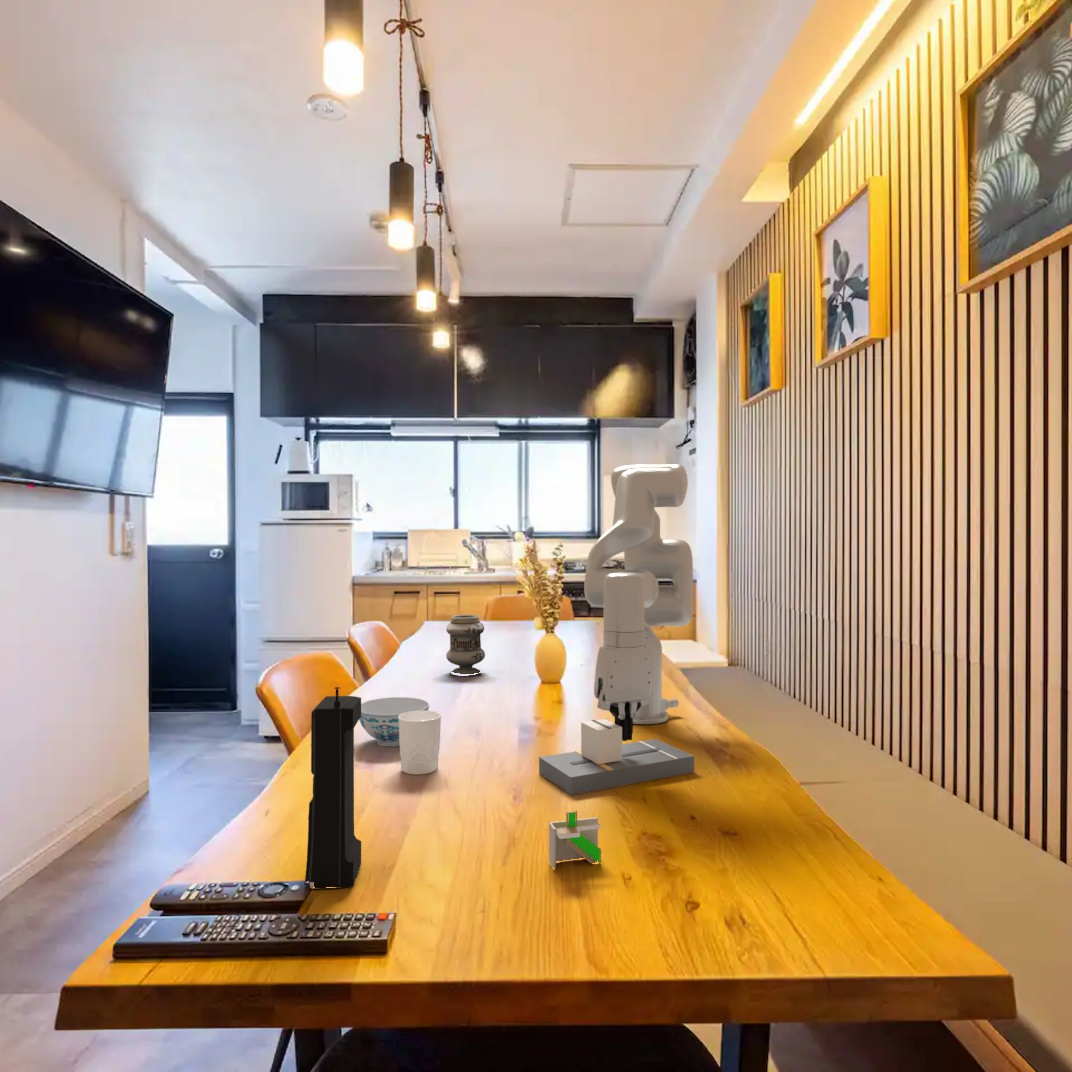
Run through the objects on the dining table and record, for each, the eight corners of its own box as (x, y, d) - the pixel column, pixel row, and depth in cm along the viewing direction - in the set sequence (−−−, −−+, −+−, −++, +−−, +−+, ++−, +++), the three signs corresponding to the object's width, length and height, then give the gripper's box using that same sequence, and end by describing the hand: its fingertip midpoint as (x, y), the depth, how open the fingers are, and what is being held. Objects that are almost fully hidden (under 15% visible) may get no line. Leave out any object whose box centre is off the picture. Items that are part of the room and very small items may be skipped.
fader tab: (604, 750, 134) (604, 718, 134) (622, 760, 129) (622, 726, 129) (581, 754, 132) (581, 721, 132) (598, 764, 127) (598, 729, 127)
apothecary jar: (451, 669, 230) (451, 613, 230) (488, 670, 228) (488, 613, 228) (441, 676, 218) (441, 617, 218) (480, 678, 216) (480, 618, 216)
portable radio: (317, 861, 97) (317, 676, 96) (362, 859, 97) (362, 675, 97) (303, 890, 89) (303, 689, 89) (353, 888, 89) (352, 688, 89)
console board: (655, 754, 143) (655, 738, 143) (694, 772, 132) (694, 755, 132) (539, 773, 132) (539, 756, 132) (570, 795, 121) (570, 776, 121)
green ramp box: (607, 874, 94) (607, 813, 94) (557, 880, 92) (557, 818, 92) (597, 860, 98) (597, 802, 98) (549, 866, 96) (549, 806, 96)
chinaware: (442, 737, 155) (442, 701, 155) (401, 756, 141) (401, 717, 141) (385, 728, 161) (385, 694, 161) (341, 747, 147) (341, 709, 147)
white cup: (448, 764, 136) (448, 712, 136) (428, 778, 129) (428, 722, 129) (411, 760, 139) (411, 708, 139) (390, 773, 132) (390, 719, 132)
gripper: (645, 634, 139) (645, 728, 139) (578, 639, 132) (578, 738, 133) (669, 639, 132) (668, 738, 132) (599, 645, 126) (599, 749, 126)
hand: (623, 738), depth 132 cm, fingers closed
